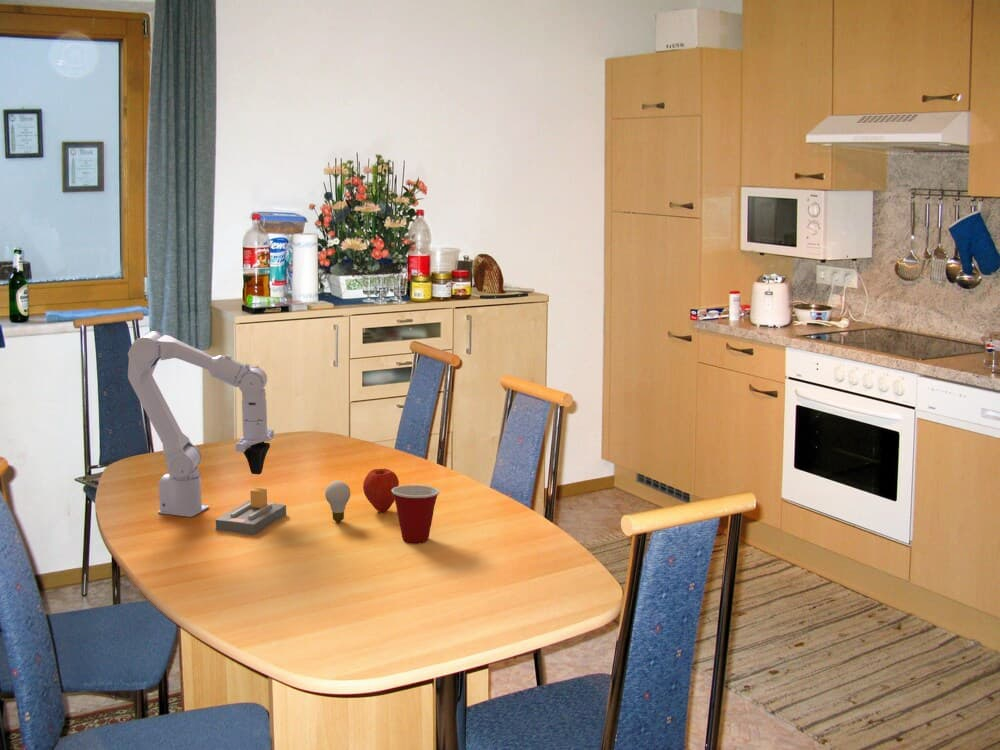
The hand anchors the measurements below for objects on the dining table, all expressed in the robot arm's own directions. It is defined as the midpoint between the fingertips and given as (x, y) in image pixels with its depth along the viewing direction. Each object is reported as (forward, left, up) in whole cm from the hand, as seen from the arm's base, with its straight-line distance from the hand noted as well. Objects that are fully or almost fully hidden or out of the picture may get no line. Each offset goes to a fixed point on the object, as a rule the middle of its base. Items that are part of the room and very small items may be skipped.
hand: (256, 473), depth 269 cm
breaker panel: (+3, -8, -9) cm, 13 cm away
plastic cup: (+44, -6, -10) cm, 45 cm away
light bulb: (+22, -1, -10) cm, 24 cm away
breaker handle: (+3, -4, -7) cm, 8 cm away
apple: (+29, +9, -10) cm, 32 cm away
